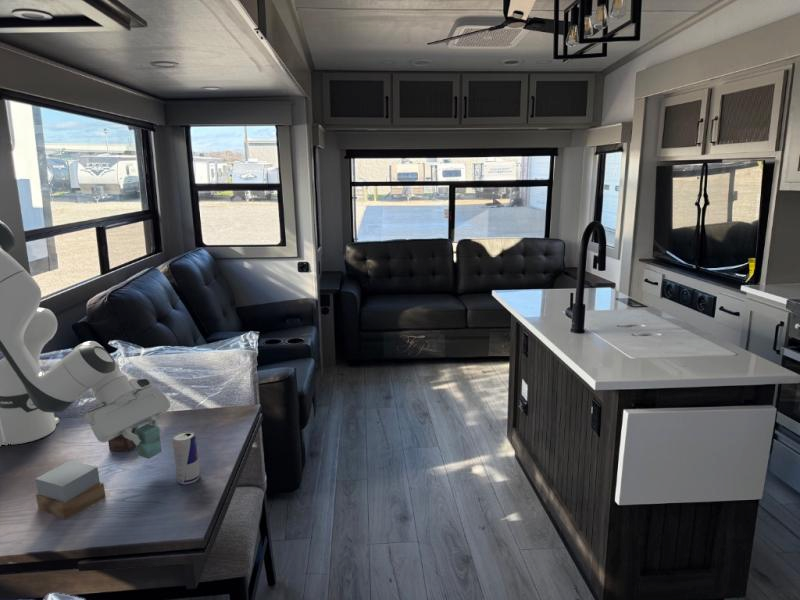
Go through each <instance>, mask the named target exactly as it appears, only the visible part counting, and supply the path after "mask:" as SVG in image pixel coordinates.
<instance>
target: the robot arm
mask: <svg viewBox="0 0 800 600" xmlns="http://www.w3.org/2000/svg"><path fill="white" fill-rule="evenodd" d="M15 248H16V239H15V236H14V234H13V232H12V229H10V227H9V226H8V225H7V224H6V223H5V222H3V221H2V220H0V352H1V353H2V355H3V356H4V357H3V358H1V359H0V447H2V446H1V445H5V446H8V444H9V446H11V445H18V444H25V443H28V442H33V441H34V442H35V441H36V440H40V439H41V438H45V437H46V436H48V435H50V434H51V433H53V432H54V431H55V429H56V427H57V424H59V423H60V419H59V417H55V414H56V413H62V412H65V411H66V410H67V409H68V408H69V407H70V406H71V405H72V404H74V403H75V401H76V400H77V399H79V398H80V397H81V396H82V395H84V394H85V393H87V392H88V391H89V390H91V391H92V393H93V397H94V398H95V399H96V401H97V402H98V403H99V404H96V405H95V406H91V407H89V408H87V409H86V410H85V412H84V413H83V418H84V420H85V421H86V423H88V425H89V426H90V428H91V430H92V431H91V432H93V434H94V436H95V437H96V439H97V441H98V442H100V443H106V442H107V443H108V441H109V440H111V439H113V438H115V437H117V436H119V435H121V434H122V435H123V436H124V437H125V438H127V439H129V440H132V441H133V442H134V443H135V445H139V444H141V443H142V442H143V441H144V439H143V438H142V436H141V435H138V436H137V435H135V434H134V433H132V429H133V428H135V427H137V426H139V427H140V426H141V425H143V424H145V423H146V424H150V425H154V426H158V427H159V420H158V419H159V418H158V417H160V416H162V415H164V414H166V413H167V412H168V411H169V410H170V409H171V401H170V400H169V398H168V397H167V396H166V395H165V393H164V392H163V391H162V390H161V389H160V388H159V387H157V386H155V385H153V384H154V382H153V380H152V379H151V378H150V377H145V378H129V377H128V376H127V375H126V374H125V373H124V372H123V371H122V370H121V368H120V366H119V363H118V362H117V360H115V358H114V357H113V356H112V355H111V354H110V352H108V350H107V349H105V348H104V346H102V345H101V344H100V343H98V342H97V341H94V340H87V341H84V342H82V343H80V344H77V346H75V347H74V348H72V350H71V351H70V352H69V353H68V354H66V356H64V357H63V358H62V359H60V361H58V362H57V363H55V364H54V365H52V366H51V367H49V368H48V369H47V370H45V371H44V370H42V369H41V367H40V356H41V352H42V350H43V348H44V347H45V345H47V344H48V342H49V341H50V340H52V339H53V338H54V336H55V334H56V333H57V330H58V319H57V317H56V315H55V313H54V312H53V311H52V310H51V309H49V308H45V307H40V304H41V301H42V291H41V288H40V286H39V284H38V283H37V282H36V280H35V279H34V278H33V277H32V275H31V274H30V273H29V272H28V270H26V269H25V268H24V267H23V266H22V265H21V263H19V262H18V261H17V260H16V259H15V258H14V257H13V256H12V255H11V254H10V253H11V252H13V250H15ZM161 433H162V429H161V428H160V427H159V434H161ZM10 444H11V445H10Z"/></svg>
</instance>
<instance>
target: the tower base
mask: <svg viewBox="0 0 800 600" xmlns="http://www.w3.org/2000/svg"><path fill="white" fill-rule="evenodd" d="M105 491H106V490H105V483H103V482H102V481H100V482H99V483H97V484H96V485H94V486H92V487H91V488H89V489H87V490H85V491H84V492H82V493H80V494H79V495H77V496H75V497H74V498H72V499H70V500H69V501H67V502H62V501H59V500H56V499H52V498H49V497H46V496H42V495H39V494H38V492H37V493H35V497H36V501H37V506H38V507H37V508H38V509H40V510H41V511H44V512H46V513H48V514H51V515H54V516H56V517H59V518H61V519H63V520H68V518H70V517H73V516H74V515H76V514H77V513H80V512H81V511H83V510H85V509H87V508H88V507H90V506H92V505H94V504H96V503H97V502H99V501H101V500H102V499H104V498H106V492H105Z"/></svg>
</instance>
